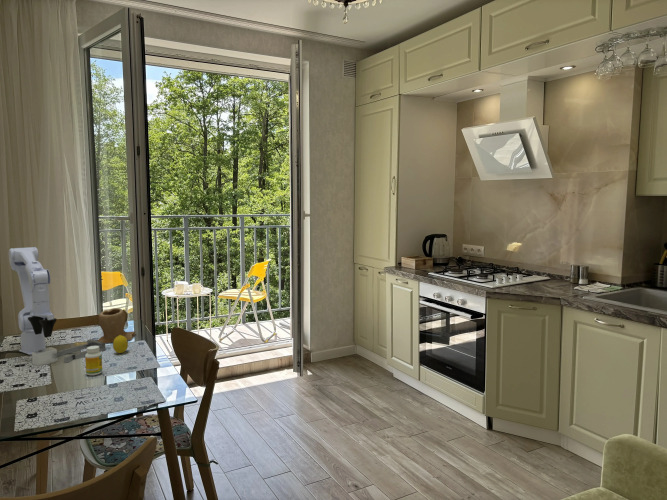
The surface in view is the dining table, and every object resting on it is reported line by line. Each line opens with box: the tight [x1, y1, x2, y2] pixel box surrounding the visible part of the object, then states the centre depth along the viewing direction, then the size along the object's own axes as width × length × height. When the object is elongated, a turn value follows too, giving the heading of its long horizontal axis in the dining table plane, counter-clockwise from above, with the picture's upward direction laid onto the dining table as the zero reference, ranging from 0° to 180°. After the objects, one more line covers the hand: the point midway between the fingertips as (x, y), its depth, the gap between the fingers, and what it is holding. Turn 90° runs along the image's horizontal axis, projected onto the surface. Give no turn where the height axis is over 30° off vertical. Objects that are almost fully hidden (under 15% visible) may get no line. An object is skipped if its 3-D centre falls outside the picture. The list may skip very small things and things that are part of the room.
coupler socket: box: [57, 339, 107, 364], centre depth 195 cm, size 13×17×4 cm
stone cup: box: [97, 307, 136, 345], centre depth 211 cm, size 15×12×15 cm
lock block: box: [31, 346, 58, 367], centre depth 185 cm, size 4×7×5 cm, turn 147°
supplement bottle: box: [84, 346, 103, 376], centre depth 173 cm, size 5×5×10 cm
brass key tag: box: [74, 341, 87, 347], centre depth 206 cm, size 6×3×2 cm, turn 76°
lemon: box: [112, 335, 129, 354], centre depth 195 cm, size 6×6×8 cm
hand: (43, 335), depth 187 cm, fingers open, 7 cm apart
